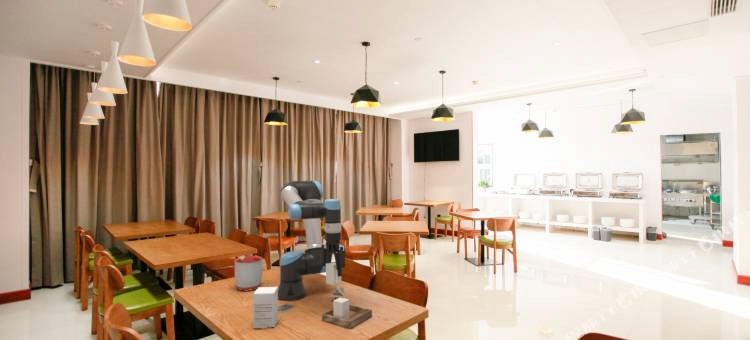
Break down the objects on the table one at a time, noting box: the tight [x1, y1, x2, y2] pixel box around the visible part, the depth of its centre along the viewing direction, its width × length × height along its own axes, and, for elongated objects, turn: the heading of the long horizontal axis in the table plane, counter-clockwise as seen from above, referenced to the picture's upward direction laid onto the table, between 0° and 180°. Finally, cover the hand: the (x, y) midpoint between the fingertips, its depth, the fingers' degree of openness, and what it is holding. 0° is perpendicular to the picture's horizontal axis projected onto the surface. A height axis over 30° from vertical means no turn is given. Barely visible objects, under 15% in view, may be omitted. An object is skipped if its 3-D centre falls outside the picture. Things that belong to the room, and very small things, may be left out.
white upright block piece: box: [325, 261, 337, 286], centre depth 163 cm, size 5×5×9 cm
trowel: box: [278, 303, 295, 313], centre depth 166 cm, size 16×6×2 cm, turn 146°
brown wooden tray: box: [321, 303, 373, 330], centre depth 158 cm, size 16×16×3 cm
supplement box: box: [252, 286, 279, 329], centre depth 152 cm, size 9×9×15 cm
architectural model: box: [328, 285, 345, 301], centre depth 180 cm, size 3×7×7 cm, turn 69°
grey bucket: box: [233, 253, 264, 291], centre depth 203 cm, size 16×17×20 cm
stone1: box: [332, 297, 350, 320], centre depth 154 cm, size 5×5×9 cm
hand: (333, 282), depth 163 cm, fingers closed on white upright block piece, 5 cm apart
